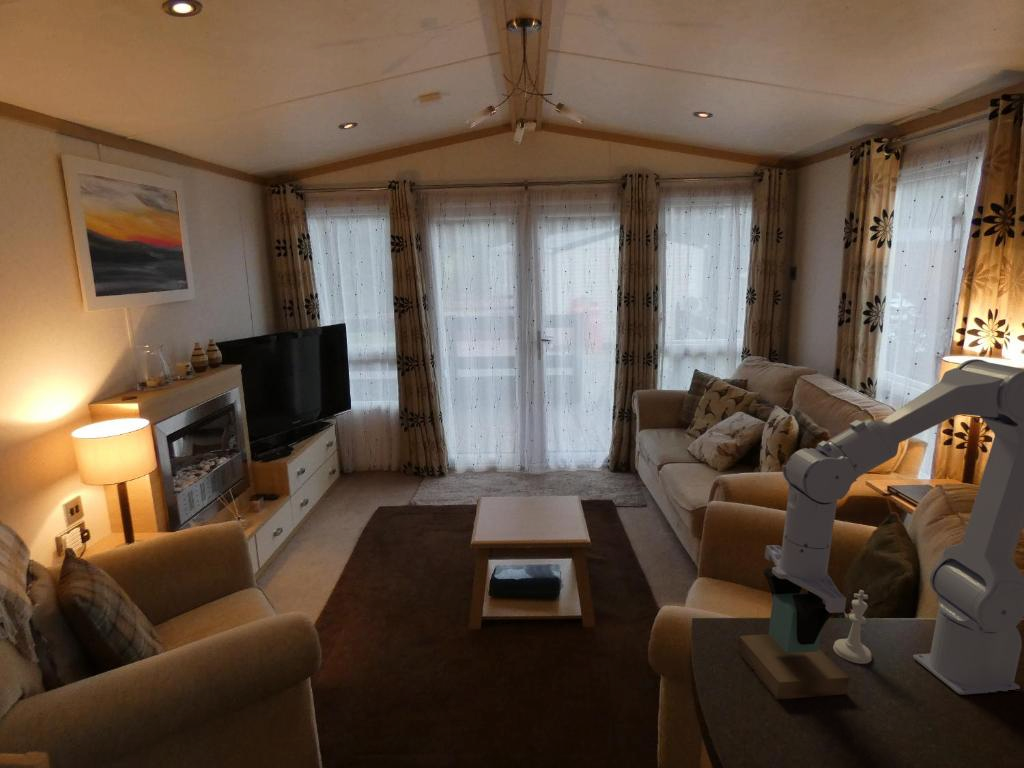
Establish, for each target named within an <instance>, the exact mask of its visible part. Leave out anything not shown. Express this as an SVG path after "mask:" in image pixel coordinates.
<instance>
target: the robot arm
mask: <svg viewBox="0 0 1024 768" xmlns="http://www.w3.org/2000/svg"><path fill="white" fill-rule="evenodd" d="M959 415H961V416H962V415H966V416H976V417H978V416H979V417H980V419H981V420H982V421H983V422H984V423H985V424H986V426H987V427H988V428H989V429H990V430H991V432H992V433H993V435H994V437H993V441H992V444H991V448H990V450H989V454H988V457H987V460H986V463H985V467H984V470H983V474H982V476H981V479H980V484H979V486H978V490H977V492H976V496H975V499H974V503H973V506H972V509H971V512H970V516H969V519H968V522H967V525H966V528H965V531H964V535H963V538H962V541H961V542H960V543H958V544H954V545H951V546H947V547H945V548H944V550H943V553H942V556H941V558H940V559H939V561H938V562H937V563H935V565H934V566H933V568H932V570H931V572H930V575H929V584H930V587H931V589H932V591H933V592H934V593H935V594H937V595H936V600H935V602H936V604H938V609H937V615H936V620H935V625H934V632H933V637H932V643H931V648H930V653H918V654H917V653H916V654H913V656H912V657H913V659H914V660H916V662H917V663H919V664H920V665H922V667H924V668H925V669H926V670H928V671H929V672H930V673H931V674H933V675H934V676H935V678H938V679H939V680H940V681H941V682H943V683H944V684H945V685H947V686H948V687H949V688H951V690H953V691H954V692H955V693H957V694H958V695H974V694H975V695H976V694H989V692H990V693H998V692H997V691H1003V692H1009V691H1008V690H1015V689H1019V690H1020V688H1021V687H1020V685H1019V684H1017V683H1016V682H1015V678H1016V676H1017V675H1016V674H1017V670H1018V666H1019V660H1020V655H1021V652H1022V651H1021V650H1022V637H1021V633H1020V631H1019V629H1018V628H1017V626H1018V625H1019V624H1020V623H1021V622H1022V620H1023V618H1024V575H1023V574H1022V573H1021V571H1020V569H1019V567H1018V566H1017V564H1016V563H1015V560H1014V555H1015V554H1016V553H1015V552H1016V550H1017V546H1018V544H1019V540H1020V537H1021V535H1022V531H1023V528H1024V368H1021V367H1015V366H1011V365H1005V364H999V363H993V362H989V361H986V360H984V359H978V358H975V359H974V358H973V359H969V360H966V361H963V362H962V363H960V364H959V365H958V366H956V368H952V369H949V370H947V371H945V372H944V373H943V376H942V377H941V380H940V381H939V382H937V383H936V384H935V385H933V386H932V387H930V388H929V389H927V390H925V391H924V392H922V393H921V394H920V395H918V396H916V397H915V398H914V399H912V400H910V401H909V402H907V403H906V404H904V405H903V406H901V407H900V408H898V409H897V410H895V411H894V412H892V413H891V414H889V415H887V416H886V417H884V418H883V419H881V420H877V419H876V420H875V419H871V418H864V420H860V419H855V420H854V421H852V422H850V423H848V424H849V425H848V426H849V428H847V429H846V430H844V431H842V432H840V433H839V434H837V435H835V436H832V438H830V439H828V440H822V441H820V442H818V443H817V446H816V447H815V448H812V447H809V448H807V447H805V448H801V449H799V450H797V451H795V452H794V453H793V454H791V456H790V457H789V459H788V460H787V462H786V464H783V465H782V466H781V467H782V469H781V470H782V476H783V478H784V480H786V483H787V485H788V491H787V492H788V495H787V502H786V503H787V505H786V513H785V519H784V520H785V521H784V529H783V536H782V543H781V546H780V545H777V544H776V545H774V544H772V545H765V552H764V558H765V559H766V560H767V561H769V562H772V561H773V563H774V566H773V567H772V568H771V567H770V568H765V569H764V572H763V574H764V577H765V578H766V580H767V584H768V586H769V589H770V594H771V597H772V599H773V594H791V593H801V592H802V591H801V590H802V589H805V590H806V591H807V592H806V593H804V594H793V596H792V598H793V600H794V603H795V606H796V611H797V640H798V642H799V643H800V644H801V645H806V644H814V643H815V641H816V639H817V637H818V635H819V633H820V631H821V632H822V628H823V627H824V625H825V624H826V623H827V621H828V620H829V619H830V618H831V616H832V615H833V614H834V613H835V614H836V613H837V614H838V613H839V614H840V613H845V611H846V602H847V597H845V596H844V594H842V593H841V592H840V590H839V589H838V588H837V586H836V585H835V583H834V581H833V580H832V578H831V576H830V575H829V573H828V567H829V561H830V554H831V548H832V547H831V546H832V540H833V539H832V538H833V533H834V532H833V531H834V525H835V518H836V512H837V511H836V510H837V504H838V501H839V500H843V498H845V496H847V494H848V493H849V491H850V489H851V488H852V487H851V486H852V485H853V484H854V483H855V482H857V479H858V478H859V477H862V476H863V475H866V474H867V473H868V472H870V471H872V470H874V469H875V468H878V467H879V466H881V465H883V464H884V463H886V462H888V461H889V460H893V459H894V458H895V457H897V455H898V451H899V446H900V443H902V442H904V441H906V440H908V439H911V438H912V437H913V438H914V436H917V435H919V434H921V433H923V432H925V431H928V430H929V429H932V428H933V427H935V426H938V425H939V424H941V423H943V422H945V421H947V420H950V419H952V418H954V417H956V416H959ZM1015 691H1016V690H1015Z"/></svg>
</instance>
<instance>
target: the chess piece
mask: <svg viewBox="0 0 1024 768" xmlns="http://www.w3.org/2000/svg"><path fill="white" fill-rule="evenodd" d="M853 597H854V598H856V599H852V600H851V605H852V610H853V613H851V614H849V616H848V618H849V619H850V620H851V621H852V624H851V626H850V627H851V628H850V630H849V634H848V637H847V638H839V639H836V640H835V641H834V644H833V651H834V652H835V653H836V654H837V655H838V657H840V658H842V659H844V660H846V661H848V662H851V663H855V664H863V665H865V664H869V663H870V662H872V652H871V650H870V649H869V648H868V647H867V646H866V645H865V644H863V643H862V641H861V624H866V622H867V620H866V618H865V616H863V615H864V614H865V612H866V610H867V609H868V608H869V607H868V606H869V605H868V604H867V602H865V601H864V600H868V599H869V596H868V594H865V591H864V590H863V589H859V591H858V593H853Z"/></svg>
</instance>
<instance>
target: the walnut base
mask: <svg viewBox="0 0 1024 768" xmlns="http://www.w3.org/2000/svg"><path fill="white" fill-rule="evenodd" d="M737 643H738V644H737V652H739V653H738V654H739V655H740V656H741V657H742V659H743V658H744V659H743V660H744V661H745V663H746V664H747V663H748V664H749V665H748V664H747V665H748V666H749V667H750V668H751V670H752V669H753V670H754V671H753V670H752V671H753V672H754V674H755V675H756V674H757V675H756V676H757V677H758V678H759V680H760V681H761V682H762V683H763V684H764V686H765V687H766V688H767V690H768V691H769V690H770V693H771V694H772V696H773V697H774V698H775V699H776V700H787V699H788V700H789V699H799V698H801V699H802V698H811V697H812V698H814V697H816V698H817V697H826V696H827V697H828V696H829V697H830V696H837V695H838V696H839V695H840V696H841V695H847V694H848V689H849V688H848V687H849V683H850V682H849V681H850V677H849V675H848V674H846V672H844V671H843V670H842V669H841V668H840V667H839V666H838V664H836V663H835V662H834V661H833V660H832V659H831V658H830V657H829V656H828V655H827V654H825V652H823V650H822V649H820V648H819V649H818V651H816V652H801V653H787V652H786V651H785V650H784V649H783V648H782V647H781V646H780V645H779V644H778V643H777V642H776V641H775V640H774V639H773V637H772V636H771V635H770V634H769V633H768V634H767V633H766V634H765V633H764V634H750V635H749V634H747V635H746V634H745V635H739V637H738V642H737Z"/></svg>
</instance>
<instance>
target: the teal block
mask: <svg viewBox="0 0 1024 768" xmlns="http://www.w3.org/2000/svg"><path fill="white" fill-rule="evenodd" d="M793 594H805V593H804V592H800V593H791V594H773V598H772V602H771V610H770V611H771V612H770V616H769V617H770V619H769V628H768V634H770V635H771V636H772V637H773V639H774V640H775V641H776V642H777V643H778V644H779V645H780V646H781V647H782V648H783V649H784V650H785V651H786V652H787V653H801V652H816V651H818V649H820V648H819V647H820V642H821V634H822V630H821V631H820V633H819V635H818V637H817V639H816V641H815V643H814V644H806V645H801V644H800V643H799V642H798V640H797V611H796V606H795V603H794V600H793V598H792V596H793Z"/></svg>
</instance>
